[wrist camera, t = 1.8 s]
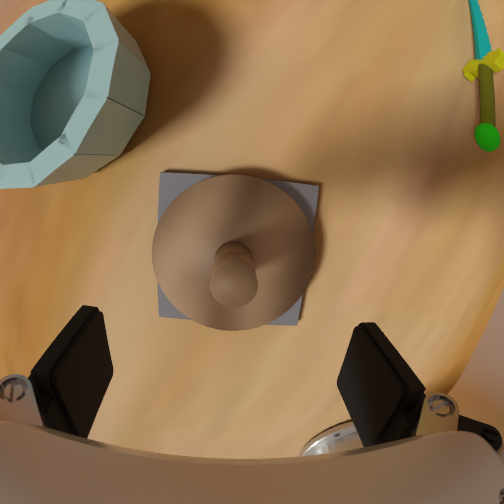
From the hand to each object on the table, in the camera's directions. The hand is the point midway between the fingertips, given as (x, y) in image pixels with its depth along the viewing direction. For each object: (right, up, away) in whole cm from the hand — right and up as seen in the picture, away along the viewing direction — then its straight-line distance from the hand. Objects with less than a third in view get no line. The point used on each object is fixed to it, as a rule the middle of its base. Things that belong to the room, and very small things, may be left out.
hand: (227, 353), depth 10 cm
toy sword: (+25, +27, +8) cm, 38 cm away
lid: (-1, +3, +13) cm, 13 cm away
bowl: (-13, +16, +9) cm, 23 cm away
